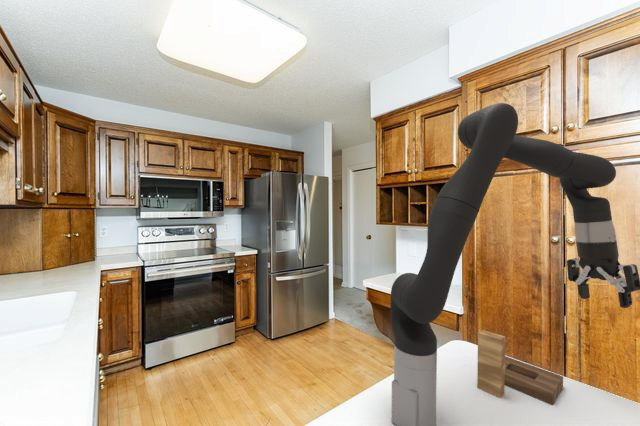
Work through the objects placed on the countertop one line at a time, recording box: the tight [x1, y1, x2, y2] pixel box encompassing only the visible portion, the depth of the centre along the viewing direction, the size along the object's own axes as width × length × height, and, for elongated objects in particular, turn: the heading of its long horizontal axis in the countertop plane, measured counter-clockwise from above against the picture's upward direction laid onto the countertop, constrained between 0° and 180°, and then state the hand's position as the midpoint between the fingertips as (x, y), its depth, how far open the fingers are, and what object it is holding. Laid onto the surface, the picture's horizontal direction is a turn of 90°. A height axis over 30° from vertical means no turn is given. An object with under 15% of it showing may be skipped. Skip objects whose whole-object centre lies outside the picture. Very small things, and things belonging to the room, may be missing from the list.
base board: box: [504, 355, 564, 406], centre depth 81 cm, size 11×16×3 cm
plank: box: [476, 329, 506, 399], centre depth 77 cm, size 3×6×15 cm, turn 40°
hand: (604, 302), depth 73 cm, fingers open, 8 cm apart
